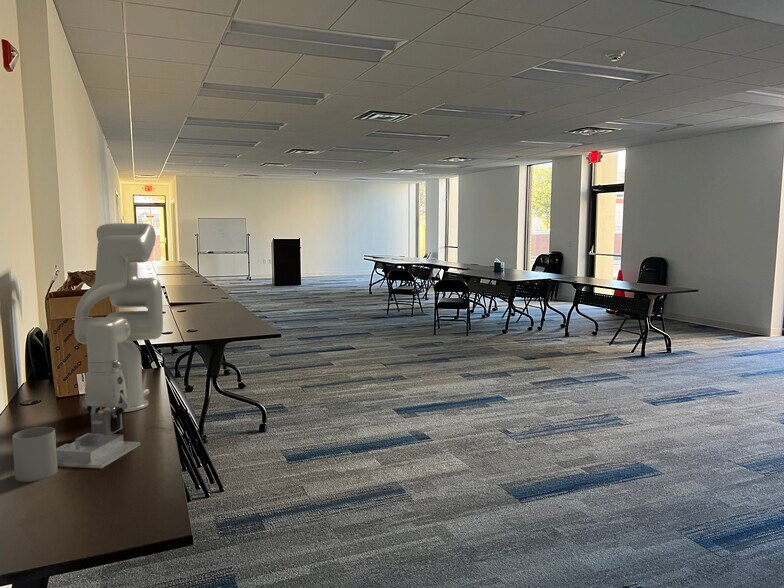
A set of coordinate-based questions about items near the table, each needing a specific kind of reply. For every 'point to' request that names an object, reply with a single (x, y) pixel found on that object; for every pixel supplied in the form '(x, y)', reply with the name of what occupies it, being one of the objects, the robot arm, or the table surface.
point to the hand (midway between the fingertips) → (107, 428)
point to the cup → (34, 454)
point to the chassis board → (94, 450)
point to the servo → (103, 422)
